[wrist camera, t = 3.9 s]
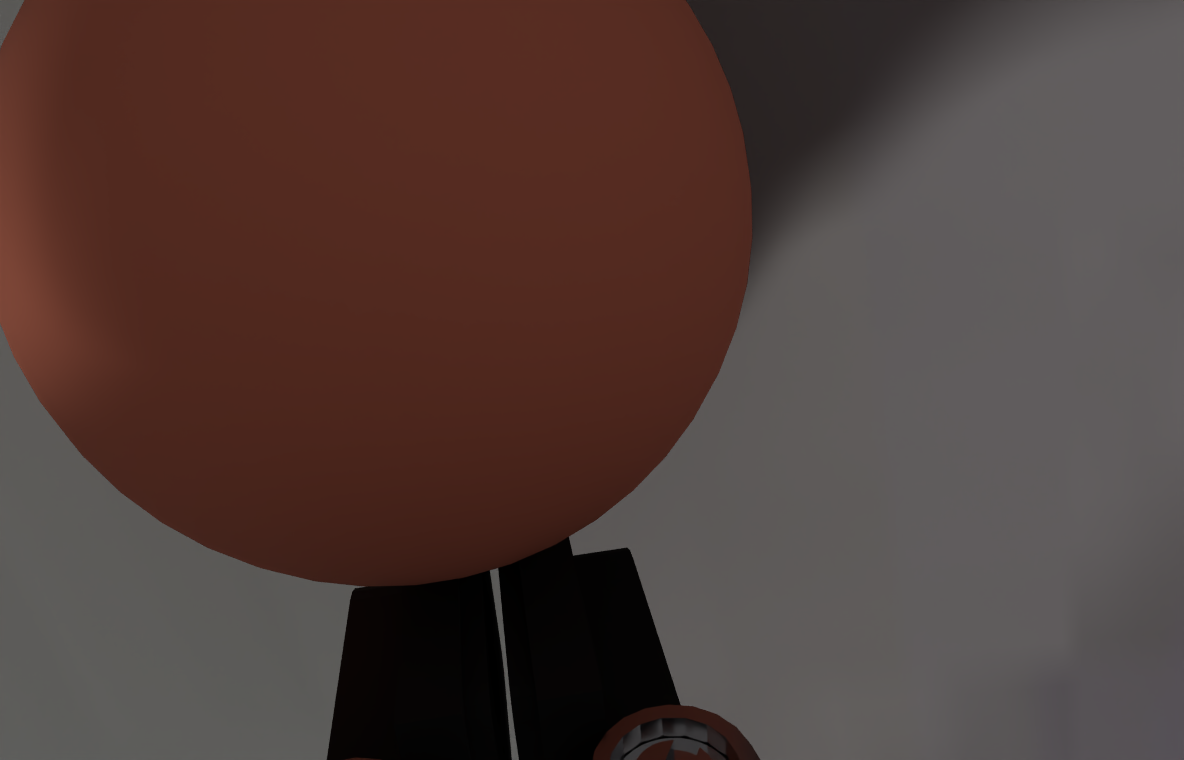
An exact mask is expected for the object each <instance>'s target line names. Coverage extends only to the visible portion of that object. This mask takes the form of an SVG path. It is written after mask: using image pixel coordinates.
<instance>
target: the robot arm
mask: <svg viewBox="0 0 1184 760" xmlns="http://www.w3.org/2000/svg"><path fill="white" fill-rule="evenodd" d="M498 570H499V581H500V592H501V602H502V613H503V624H504V635H505V645H506V656H507V667H508V677H509V687H510V696H511V705H512V713H513V721H514V728H515V736H516V742H517V749H518V756H519V760H760V758H759V757H758V755H757V753H756V752H755V750H754V749H753V747H752V745H751V744H750V743H749V741H748V740H747V739H746V738H745V737H744V736H743V734H742V733H741V732H740V731H739V730H738V728H737V727H735V726H734V725H732V724H731V723H729V722H728V721H726V720H725V719H723V718H722V717H720V716H719V715H717V714H715V713H712V712H709V711H706V710H703V709H699V708H696V707H693V706H681V705H680V702H679V699H678V696H677V693H676V690H675V686H674V683H673V680H672V677H671V674H670V671H669V668H668V665H667V662H666V659H665V656H664V652H663V649H662V646H661V643H660V640H659V637H658V634H657V631H656V628H655V625H654V622H653V619H652V615H651V612H650V609H649V606H648V603H647V600H646V597H645V594H644V591H643V588H642V585H641V581H640V578H639V575H638V572H637V569H636V566H635V563H634V560H633V557H632V554H631V552H630V550H629V549H628V548H621V549H615V550H608V551H601V552H595V553H588V554H581V555H575V556H573V554H572V549H571V545H570V540H569V537H567V538H565V539H564V540H562V541H561V542H559V543H557V544H556V545H553V546H551V547H549V548H546V549H544V550H542V551H540V552H537V553H535V554H533V555H531V556H528V557H526V558H524V559H521V560H519V561H517V562H515V563H512V564H509V565H506V566H503V567H499V568H498ZM327 760H512V757H511V746H510V734H509V723H508V711H507V700H506V689H505V677H504V668H503V659H502V651H501V644H500V637H499V630H498V623H497V617H496V610H495V603H494V596H493V589H492V583H491V576H490V570H489V571H485V572H482V573H479V574H475V575H472V576H468V577H465V578H459V579H453V580H446V581H440V582H433V583H427V584H420V585H407V586H368V587H362V588H355V589H354V590H353V592H352V595H351V599H350V605H349V612H348V619H347V626H346V632H345V639H344V646H343V653H342V660H341V667H340V673H339V680H338V687H337V694H336V701H335V708H334V714H333V721H332V728H331V735H330V742H329V749H328V755H327Z"/></svg>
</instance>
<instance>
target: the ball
mask: <svg viewBox="0 0 1184 760" xmlns="http://www.w3.org/2000/svg"><path fill="white" fill-rule="evenodd" d="M751 245H752V195H751V184H750V176H749V169H748V162H747V156H746V149H745V142H744V135H743V131H742V127H741V124H740V120H739V116H738V113H737V109H736V106H735V102H734V99H733V95H732V92H731V88H730V86H729V83H728V81H727V79H726V76H725V74H724V72H723V69H722V67H721V65H720V62H719V60H718V57H717V55H716V53H715V50H714V48H713V46H712V44H711V42H710V40H709V39H708V37H707V35H706V34H705V32H704V30H703V28H702V27H701V25H700V23H699V21H698V20H697V18H696V16H695V15H694V13H693V11H692V9H691V8H690V6H689V4H688V3H687V1H686V0H24V2H23V4H22V6H21V8H20V10H19V12H18V14H17V16H16V18H15V20H14V22H13V24H12V26H11V28H10V30H9V32H8V34H7V36H6V38H5V40H4V42H3V44H2V46H1V49H0V323H1V326H2V328H3V331H4V333H5V336H6V338H7V341H8V343H9V346H10V348H11V351H12V353H13V356H14V358H15V359H16V361H17V363H18V364H19V366H20V368H21V370H22V371H23V373H24V375H25V377H26V378H27V380H28V382H29V383H30V385H31V387H32V389H33V390H34V392H35V394H36V396H37V397H38V399H39V401H40V402H41V404H42V405H43V406H44V407H45V409H46V410H47V411H48V413H49V414H50V415H51V416H52V418H53V419H54V420H55V421H56V423H57V424H58V425H59V427H60V428H61V429H62V430H63V432H64V433H65V434H66V436H67V437H68V438H69V439H70V441H71V442H72V443H73V444H74V446H75V447H76V448H77V449H78V451H79V452H80V453H81V454H82V456H83V457H84V458H86V459H87V460H88V461H89V462H90V463H91V464H92V465H93V466H94V467H95V468H96V469H97V470H98V471H99V472H100V473H101V474H102V475H103V476H104V477H105V478H106V479H107V480H108V481H109V482H110V483H111V484H112V485H113V486H114V487H115V488H116V489H118V490H119V491H120V492H121V493H122V494H124V495H125V496H126V497H128V498H129V499H130V500H132V501H133V502H135V503H136V504H137V505H139V506H140V507H141V508H143V509H144V510H145V511H147V512H148V513H149V514H151V515H152V516H154V517H155V518H156V519H158V520H159V521H160V522H162V523H163V524H165V525H167V526H169V527H171V528H173V529H174V530H176V531H178V532H180V533H182V534H184V535H185V536H187V537H189V538H191V539H193V540H195V541H196V542H198V543H200V544H202V545H204V546H206V547H207V548H210V549H212V550H215V551H217V552H220V553H223V554H225V555H228V556H230V557H233V558H236V559H238V560H241V561H243V562H246V563H249V564H251V565H254V566H256V567H260V568H263V569H267V570H271V571H275V572H279V573H283V574H287V575H292V576H296V577H300V578H304V579H308V580H312V581H318V582H327V583H337V584H346V585H356V586H365V587H366V586H407V585H420V584H427V583H433V582H440V581H446V580H453V579H459V578H465V577H468V576H472V575H475V574H479V573H482V572H485V571H489V570H492V569H496V568H499V567H503V566H506V565H509V564H512V563H515V562H517V561H519V560H521V559H524V558H526V557H528V556H531V555H533V554H535V553H537V552H540V551H542V550H544V549H546V548H549V547H551V546H553V545H556V544H557V543H559V542H561V541H562V540H564V539H565V538H567V537H569V536H570V535H572V534H574V533H575V532H577V531H579V530H580V529H582V528H584V527H585V526H587V525H589V524H590V523H592V522H594V521H595V520H597V519H598V518H599V517H601V516H602V515H603V514H604V513H606V512H607V511H608V510H609V509H611V508H612V507H613V506H614V505H616V504H617V503H618V502H619V501H621V500H622V499H623V498H624V497H626V496H627V495H628V494H629V493H631V492H632V491H633V490H634V489H635V488H636V487H637V486H638V485H639V484H640V483H641V482H642V481H643V480H644V479H645V478H646V477H647V476H648V475H649V473H650V472H651V471H652V470H653V469H654V468H655V467H656V466H657V465H658V464H659V463H660V462H661V461H662V460H663V459H664V458H665V457H666V456H667V454H668V453H669V451H670V450H671V449H672V447H673V446H674V445H675V443H676V442H677V441H678V439H679V438H680V437H681V435H682V434H683V432H684V431H685V430H686V428H687V427H688V426H689V424H690V423H691V422H692V420H693V419H694V417H695V415H696V413H697V411H698V410H699V408H700V406H701V404H702V402H703V401H704V399H705V397H706V395H707V393H708V391H709V390H710V388H711V386H712V384H713V382H714V381H715V379H716V377H717V375H718V373H719V371H720V368H721V366H722V363H723V361H724V358H725V355H726V353H727V350H728V348H729V345H730V343H731V340H732V338H733V335H734V332H735V330H736V327H737V323H738V319H739V315H740V310H741V306H742V302H743V298H744V294H745V290H746V286H747V280H748V271H749V262H750V254H751Z"/></svg>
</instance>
